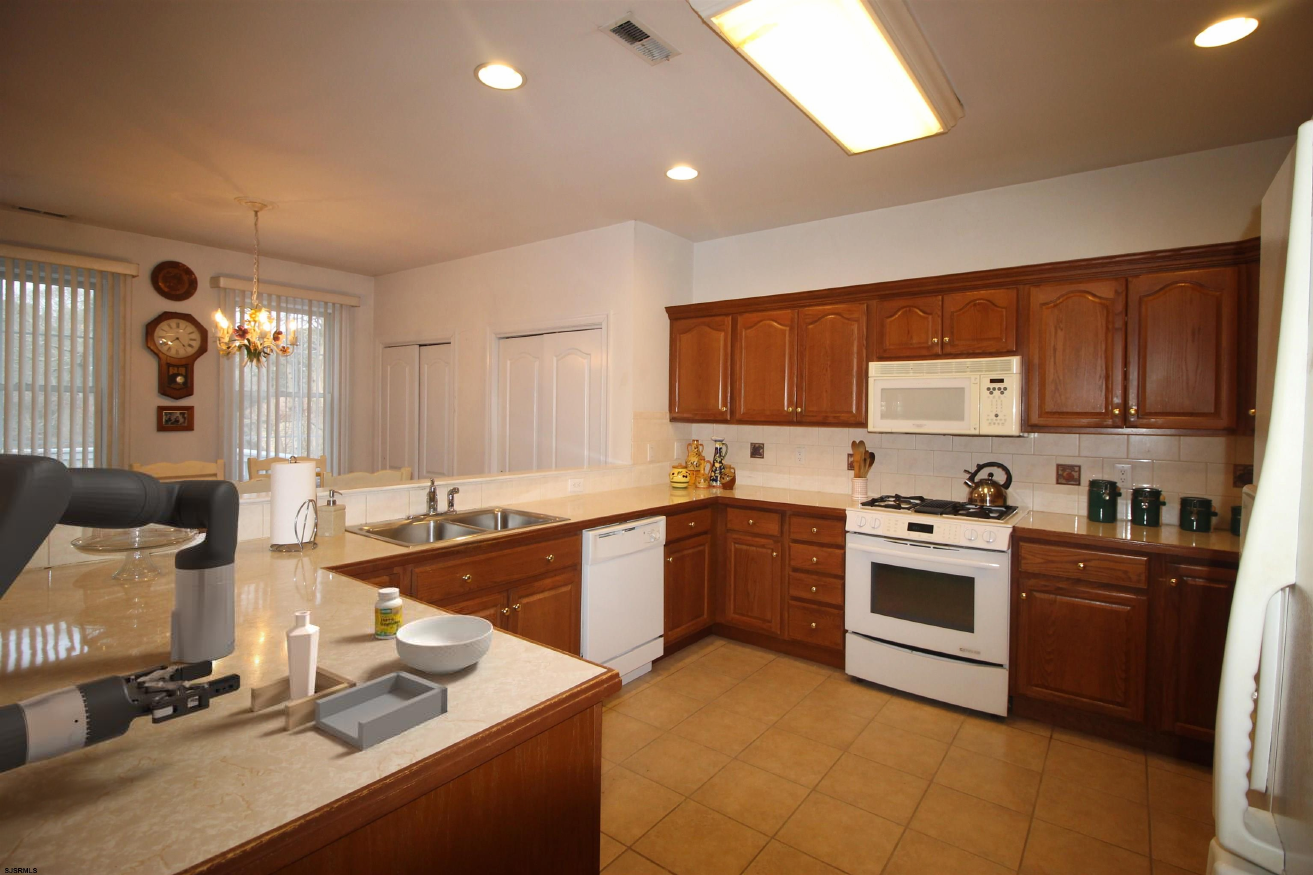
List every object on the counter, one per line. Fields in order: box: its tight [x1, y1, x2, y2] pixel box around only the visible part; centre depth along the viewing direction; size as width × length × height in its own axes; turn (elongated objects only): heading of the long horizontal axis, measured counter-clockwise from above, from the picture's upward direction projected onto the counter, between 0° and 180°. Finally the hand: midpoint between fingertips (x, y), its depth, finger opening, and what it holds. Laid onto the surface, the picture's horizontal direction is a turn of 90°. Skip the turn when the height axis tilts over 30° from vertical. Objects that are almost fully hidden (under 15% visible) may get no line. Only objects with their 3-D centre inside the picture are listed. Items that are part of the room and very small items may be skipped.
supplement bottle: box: [374, 587, 404, 640], centre depth 130 cm, size 5×5×10 cm
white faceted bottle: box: [285, 610, 320, 703], centre depth 97 cm, size 5×4×15 cm
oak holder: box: [250, 665, 358, 731], centre depth 98 cm, size 10×11×4 cm
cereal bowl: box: [395, 614, 494, 675], centre depth 115 cm, size 17×17×7 cm
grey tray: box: [314, 669, 448, 751], centre depth 94 cm, size 14×12×4 cm
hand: (224, 673), depth 88 cm, fingers open, 8 cm apart
